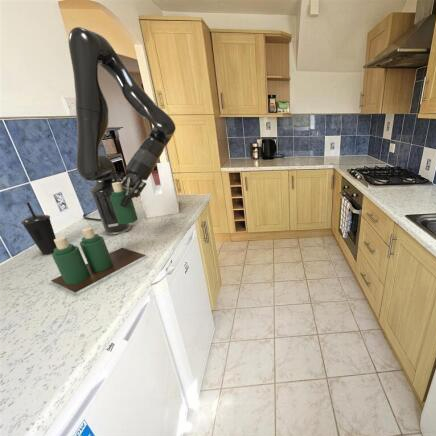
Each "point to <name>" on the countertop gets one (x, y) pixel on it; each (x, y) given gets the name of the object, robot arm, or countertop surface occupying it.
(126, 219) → the green bottle
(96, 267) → the middle bottle
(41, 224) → the drinking cup
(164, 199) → the white tall block
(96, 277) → the serving board
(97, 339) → the countertop surface
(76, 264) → the near bottle
